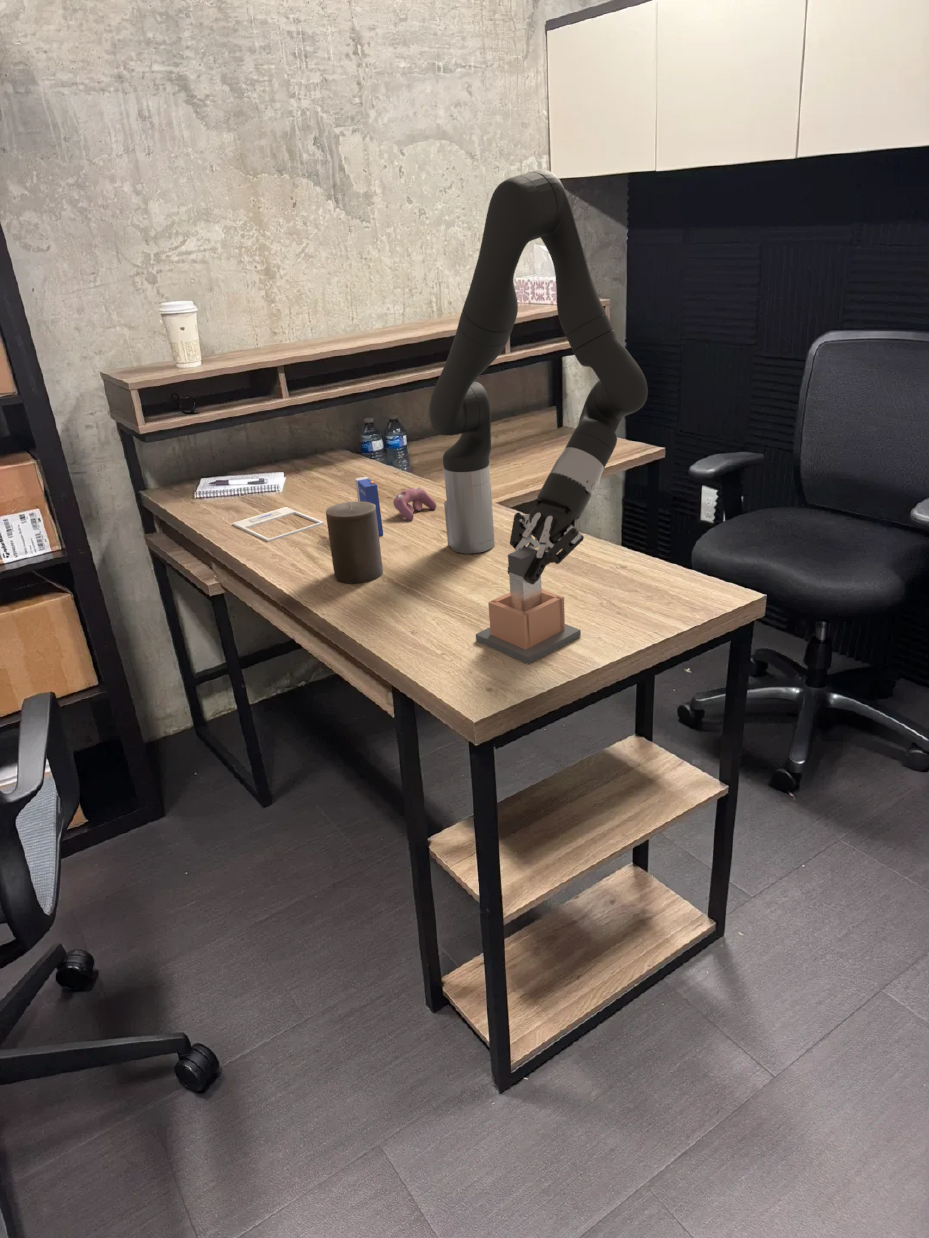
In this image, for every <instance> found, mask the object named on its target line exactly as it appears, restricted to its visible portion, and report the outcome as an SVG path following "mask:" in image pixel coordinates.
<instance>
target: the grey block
mask: <svg viewBox="0 0 929 1238" xmlns="http://www.w3.org/2000/svg"><path fill="white" fill-rule="evenodd" d="M537 552H538V549H536V548H535V549H532V548H529V547H527V546H526V547H524V548H522V549H519V550H517V551H516V550H514V551H513V552H510V553H508V554H507V560H508V564H507V565H508V566H509V574H508V577H509V593H510V596H511V607H512V608H514V609H517V610H519V611H522V612H526V611H528V610H530V609H532V608H534V607H536V606H538V605H540V604H542V589H543V588H542V575H541V576H540V578H539V580H538V581H537V582H535V584H533V585H532V584H530V583H528V582H527V581H525V580H524V576H525V574H526V572H527V570H528V568H529V566H530V565H531V563H532V561H533V559H534V558H537V557H536V555H537Z"/></svg>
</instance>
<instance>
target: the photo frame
mask: <svg viewBox="0 0 929 1238" xmlns="http://www.w3.org/2000/svg"><path fill="white" fill-rule="evenodd" d="M294 515H297V516H300V517H301V518H303V519H306V520H309V521H311V522H313V523H314V524H310V525H308V526H305V527H301V528H298V529H295V530H292V531H289V532H285V533H283V534H280V535H276V536H273V537H270V538H268V537H266V536H265V535H263V534H260V533H258V532H256V531H254V530H252V528H253V527H254V528H255V527H257V526H260V525H263V524H266V523H269V522H273V521H276V520H279V519H284V518H286V517H289V516H294ZM231 525H232V526H234V527H236V528H238V529H240V530H242V531H244V532H247V533H249V534H251V535H252V536H255V537H257V538H259V539H261V540H263V541H265V542H268V543H271V542H274V541H276V540H280V539H283V538H286V537H289V536H291V535H295V534H298V533H301V532H305V531H308V530H310V529H314V528H317V527H320V526H323V525H325V521H323V520H320V519H318V518H315V517H312V516H310V515H307V514H305V513H303V512H300V511H298V510H295V509H293V508H290V507H287V506H284V507H281V508H277V509H274V510H271V511H267V512H264V513H261V514H257V515H255V516H250V517H248V518H245V519H241V520H238V521H235V522H232V523H231ZM250 528H251V529H250Z"/></svg>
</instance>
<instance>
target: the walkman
mask: <svg viewBox="0 0 929 1238" xmlns="http://www.w3.org/2000/svg"><path fill="white" fill-rule="evenodd" d="M354 481H355V486H356V487H355V488H356V495H357V497H356V498H357V501H360V502H370V503H372V504H375V506H376V516H377V524H378V532H379V537H382V536H384V529H383V528H384V527H383V520H382V514H381V505H380V499H379V490H378V484H377V483H375V481H373V480H371V479H370V478H369V477H368V476H363V477H361V476H360V477H356V478H354Z"/></svg>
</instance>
